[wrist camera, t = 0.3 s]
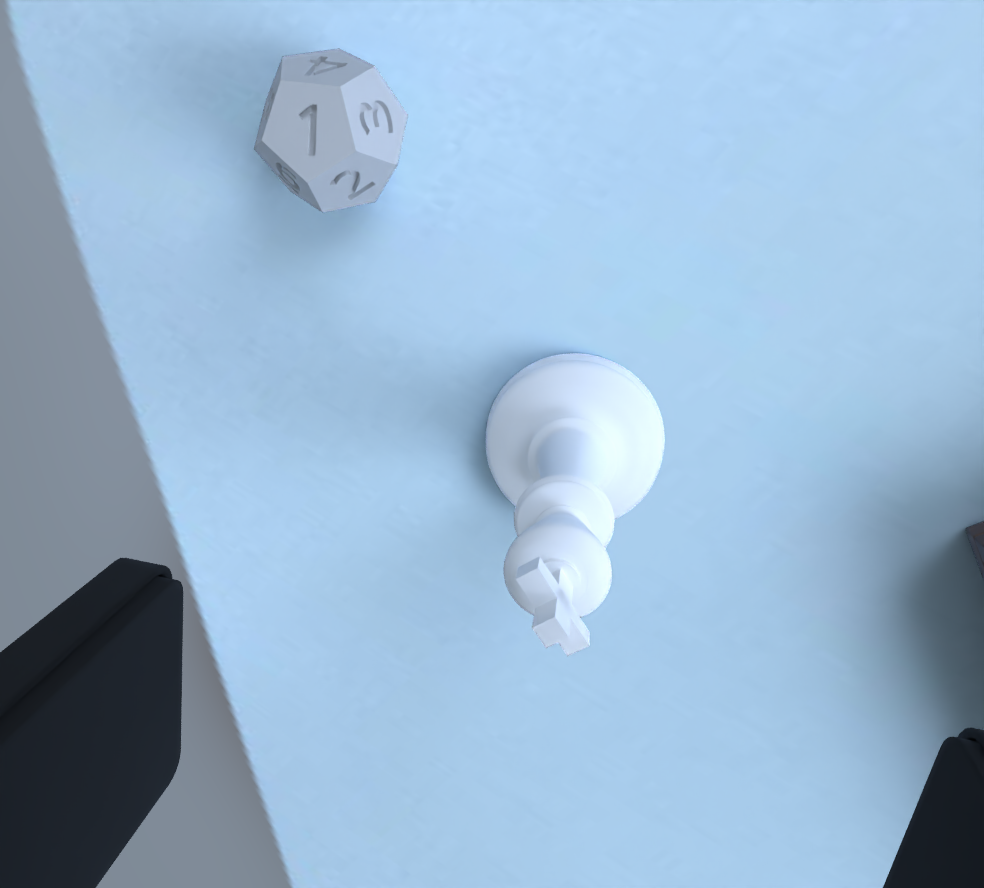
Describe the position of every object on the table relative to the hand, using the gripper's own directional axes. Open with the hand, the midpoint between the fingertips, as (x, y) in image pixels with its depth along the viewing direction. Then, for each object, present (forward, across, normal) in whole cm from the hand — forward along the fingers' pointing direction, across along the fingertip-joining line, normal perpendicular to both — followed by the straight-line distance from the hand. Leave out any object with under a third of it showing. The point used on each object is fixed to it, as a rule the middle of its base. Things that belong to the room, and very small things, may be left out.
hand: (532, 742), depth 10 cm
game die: (+14, +7, -6) cm, 17 cm away
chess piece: (+14, 0, 0) cm, 14 cm away
